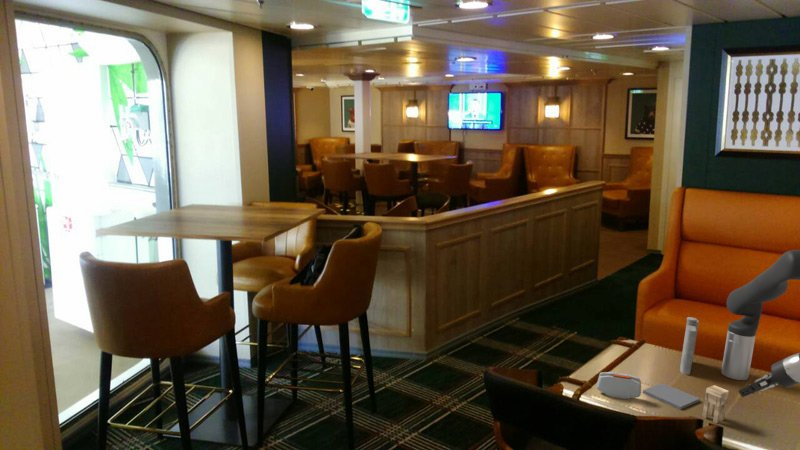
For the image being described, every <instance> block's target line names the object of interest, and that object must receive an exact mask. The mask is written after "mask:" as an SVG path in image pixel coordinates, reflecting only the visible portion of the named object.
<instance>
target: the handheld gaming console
mask: <svg viewBox="0 0 800 450" xmlns="http://www.w3.org/2000/svg"><path fill="white" fill-rule="evenodd" d="M597 378H598V379H597V382H596V390H598V391H599V392H601V393H603V394H605V395H606V396H609V397H612V398H620V399H626V400H627V399H629V400H630V399H632V398H633V399H634V398H640V397H641V395H642V382H641V378H640V377H639V376H638V377H637V376H634V375H632V374H628V373H620V372H615V371H608V372H607V371H605V372H599V375H598V377H597Z"/></svg>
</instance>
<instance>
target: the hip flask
mask: <svg viewBox="0 0 800 450" xmlns="http://www.w3.org/2000/svg"><path fill="white" fill-rule="evenodd" d="M698 329H699V319H697V318H696V317H691V316H687V317H686V325H685V330H684V331H685V332H684V339H683V345H682V352H681V360H680V364H679V365H680V367H679V371H680V374H682V375H684V376H689V375H691V370H692V364H693V361H694V355H695V354H694V353H695V349H696V341H697V335H698V334H697V333H698Z"/></svg>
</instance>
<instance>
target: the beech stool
mask: <svg viewBox="0 0 800 450" xmlns="http://www.w3.org/2000/svg"><path fill="white" fill-rule="evenodd" d="M729 392H730V390H727V389H724V388H722V387H720V386H717V385H715V384H714V385H711V386H708V387H706V389H705V395H704V401H703V410H702V413H701V415H702V416H701V417H702V418H703V419H708V418H709V417H708V416H710V417H711V416H712V417H713V420H712V422H713V423H715V424H718V423H719V421H724V420H725V418H726V417H725V416H726V411H727V410H726V409H727V403H728V398H729Z"/></svg>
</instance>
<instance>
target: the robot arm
mask: <svg viewBox="0 0 800 450" xmlns="http://www.w3.org/2000/svg"><path fill="white" fill-rule="evenodd" d="M790 280H797V281H798V280H799V281H800V249H792V250H791V249H789V250H788V251H786V252H784V253H783V254H782V255H780V257H779V258H777V260H776V261H775V262H774V263H773V264H772V265H771V266H770V267H768V268H767V269H766V270H764V271H763V272H762V273H760V274H759V275H757V276H755V278H754V279H752V280H751V281H748V283H746V284H744V285H743V286H742V285H741V287H738V288H736V289H734V290H732V291H731V292H730V293H729V295H728V297H727V299H726V307H727V310H728V311H729V312H730V313H731V314H733V315H737V316H743V317H741V318H740V319H737V320H733V321H731V322H729V324H728V325H727V326H728V327H727V334H726V340H725V346H724V352H723V356H722V357H723V358H722V364H721V372H720V373H721V374H722V375H723V376H725V377H726V378H729V379H732V380H737V381H746V380H748V379H749V375H750V371H751V365H752V364H751V363H752V359H753V352H754V347H755V341H756V335H757V331H758V329H759V324H760V320H761V316H762V311H763V304H764V303H767V302H771V301H773V300H776V299H777V298H779V297H780V296H782V295H784V294H785V293H786V292H787V290H788V286H789V282H788V281H790ZM770 371H771V372H769V373H766V374H764V375H763V376H762V377H760V378H757V379H755V380H754V382H753V383H749V384H748V385H747V386H746V387H743V388H740V389H739V390H738V393H739V395H740V396H741V398H744V397H747V396H749V395H752V394H753V395H754V394H756V393H757V392H759V391H761V392H763V391H765V390H768V389H771V388H775V387H777V386H779V385H780V386H782V387H783V388H786V389H787V388H791V387H793V386H796V385H798V384H800V352H798V353H794V354H792V355H789V356H787V357H784V358H783V359H781V360H778V361H777V362H775V363H772V365H770Z"/></svg>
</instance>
